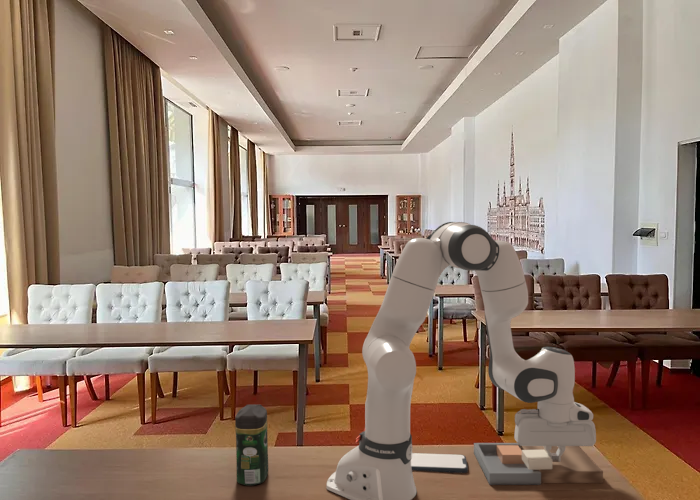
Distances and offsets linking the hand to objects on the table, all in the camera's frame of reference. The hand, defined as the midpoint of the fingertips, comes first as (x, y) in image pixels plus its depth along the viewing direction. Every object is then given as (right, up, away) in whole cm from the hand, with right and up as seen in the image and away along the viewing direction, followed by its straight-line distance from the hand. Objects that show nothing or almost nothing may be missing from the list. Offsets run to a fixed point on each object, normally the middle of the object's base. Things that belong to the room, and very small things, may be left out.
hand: (553, 461), depth 142 cm
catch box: (-11, -4, +4) cm, 12 cm away
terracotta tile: (-9, -3, +9) cm, 13 cm away
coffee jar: (-79, -4, 0) cm, 79 cm away
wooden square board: (+3, -4, +4) cm, 6 cm away
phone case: (-29, -4, +7) cm, 31 cm away
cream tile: (-4, -1, 0) cm, 4 cm away
